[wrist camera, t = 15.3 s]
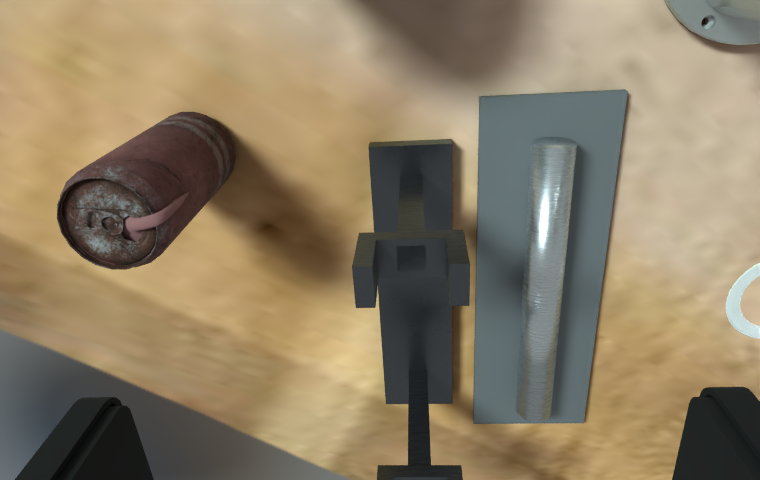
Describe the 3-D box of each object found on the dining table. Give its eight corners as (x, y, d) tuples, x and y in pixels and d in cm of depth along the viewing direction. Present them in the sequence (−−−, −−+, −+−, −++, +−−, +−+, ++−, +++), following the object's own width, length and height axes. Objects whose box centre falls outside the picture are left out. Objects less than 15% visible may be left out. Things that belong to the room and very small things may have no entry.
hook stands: (451, 139, 41) (472, 230, 26) (451, 394, 51) (467, 559, 37) (369, 142, 41) (347, 234, 27) (386, 395, 52) (376, 558, 37)
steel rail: (529, 137, 40) (534, 149, 37) (572, 136, 40) (581, 148, 37) (513, 397, 50) (517, 421, 48) (547, 398, 50) (553, 422, 47)
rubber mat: (624, 89, 39) (627, 91, 38) (581, 418, 52) (583, 422, 51) (479, 96, 39) (480, 98, 39) (473, 419, 52) (473, 423, 52)
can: (253, 173, 43) (187, 258, 30) (180, 196, 44) (87, 287, 31) (219, 97, 40) (132, 155, 28) (143, 124, 42) (26, 191, 29)
